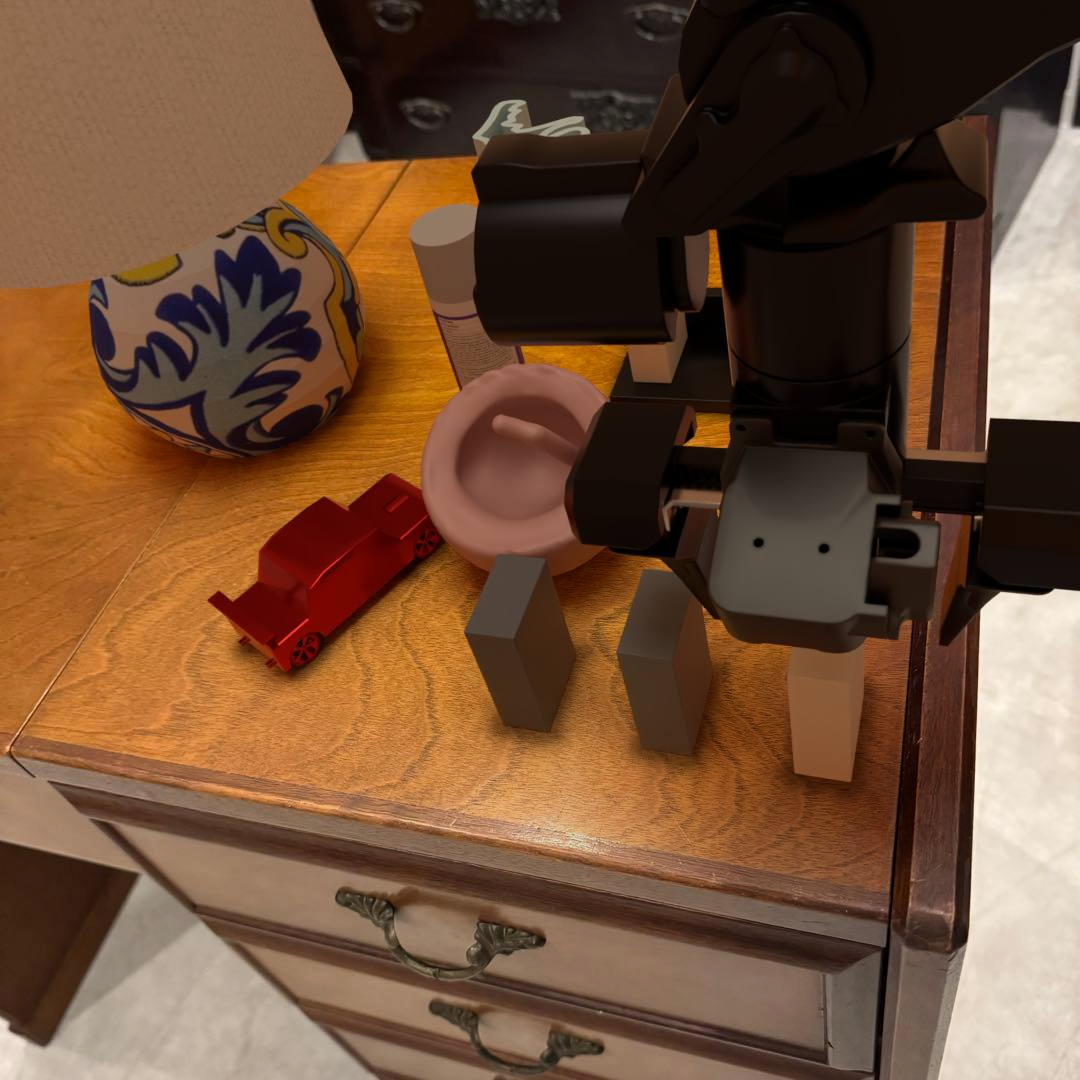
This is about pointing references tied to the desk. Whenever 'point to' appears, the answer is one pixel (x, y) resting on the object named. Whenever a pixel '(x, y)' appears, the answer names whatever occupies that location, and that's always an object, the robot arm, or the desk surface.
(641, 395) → the dark wooden base
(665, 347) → the rack cream book
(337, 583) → the toy car
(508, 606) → the dark grey rectangular block
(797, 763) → the cream book
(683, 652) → the gray rectangular block
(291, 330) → the table lamp
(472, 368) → the container
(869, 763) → the desk surface
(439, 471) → the mortar and pestle
